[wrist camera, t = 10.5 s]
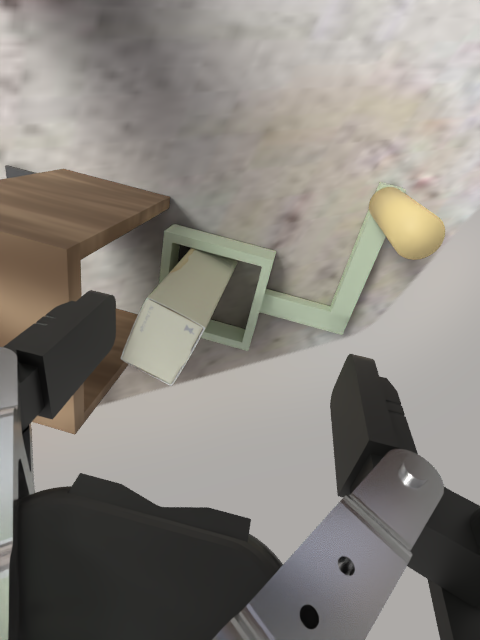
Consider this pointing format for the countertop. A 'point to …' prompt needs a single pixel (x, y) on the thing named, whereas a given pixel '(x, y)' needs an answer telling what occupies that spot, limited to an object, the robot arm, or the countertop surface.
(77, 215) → the brown hollow box
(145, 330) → the skincare box
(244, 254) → the green zigzag lever
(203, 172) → the countertop surface
